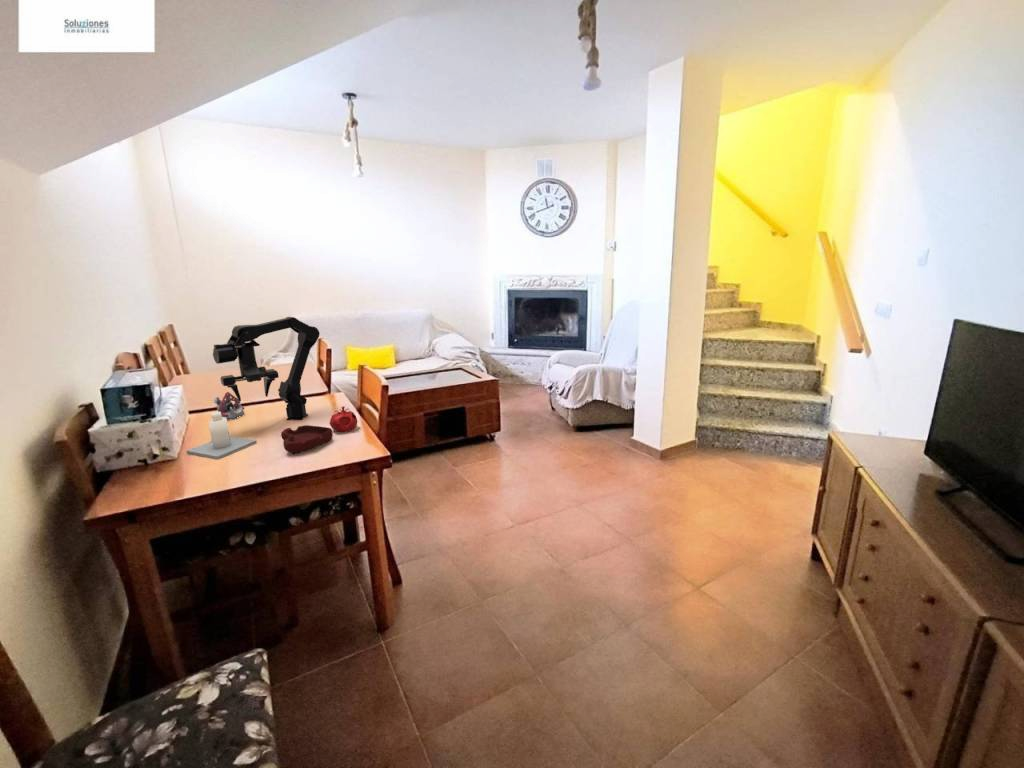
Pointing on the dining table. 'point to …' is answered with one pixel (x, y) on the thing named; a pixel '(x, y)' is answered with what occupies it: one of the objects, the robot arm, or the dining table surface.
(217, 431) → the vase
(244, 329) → the robot arm
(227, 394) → the grey red pointed piece
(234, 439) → the board
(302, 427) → the ashtray
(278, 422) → the dining table surface
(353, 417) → the pomegranate
